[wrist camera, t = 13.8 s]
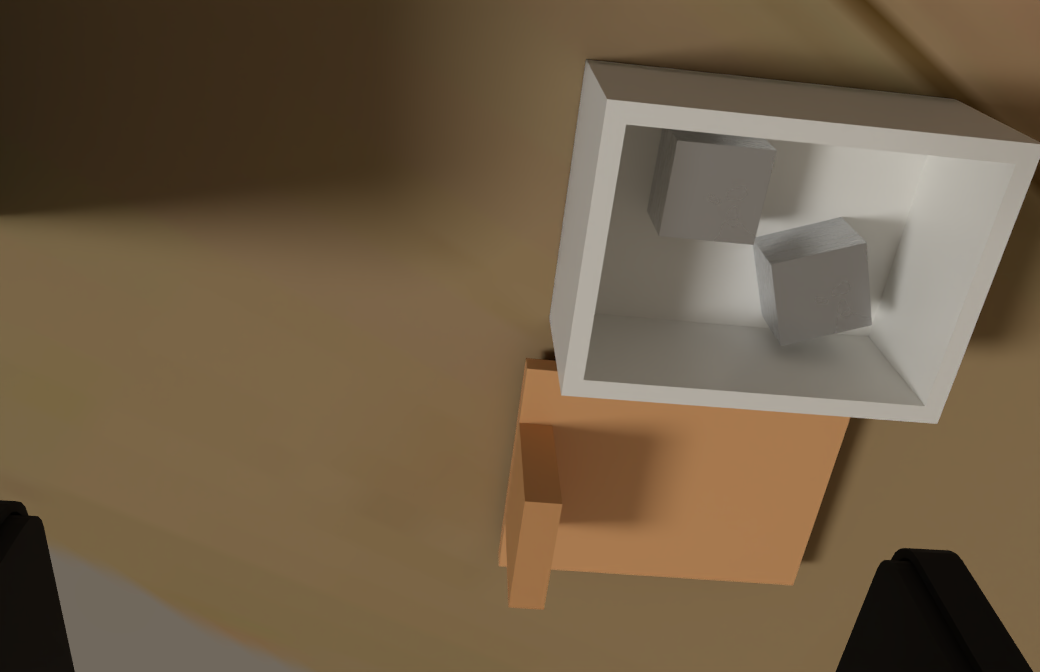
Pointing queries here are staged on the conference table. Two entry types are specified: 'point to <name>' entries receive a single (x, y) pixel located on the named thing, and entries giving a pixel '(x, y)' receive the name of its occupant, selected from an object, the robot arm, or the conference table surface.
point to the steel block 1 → (710, 186)
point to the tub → (788, 204)
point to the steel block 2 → (813, 280)
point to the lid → (658, 489)
